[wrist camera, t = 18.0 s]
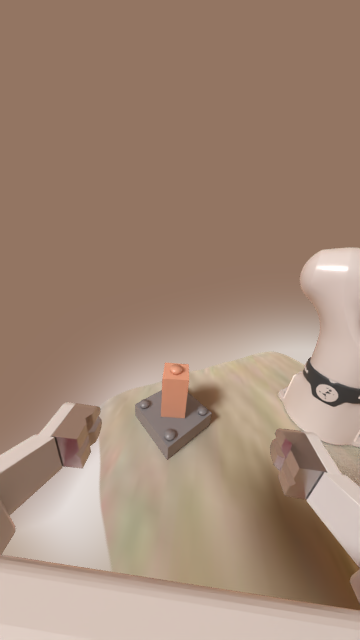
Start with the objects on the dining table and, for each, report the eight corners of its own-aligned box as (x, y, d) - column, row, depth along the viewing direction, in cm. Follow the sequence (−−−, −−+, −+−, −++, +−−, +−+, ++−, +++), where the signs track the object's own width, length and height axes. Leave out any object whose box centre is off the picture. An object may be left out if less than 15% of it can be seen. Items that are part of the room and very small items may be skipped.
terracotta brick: (163, 398, 44) (165, 359, 40) (184, 399, 44) (188, 361, 40) (160, 416, 39) (162, 375, 35) (184, 418, 40) (189, 377, 35)
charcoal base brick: (175, 393, 51) (176, 379, 49) (209, 426, 43) (212, 410, 41) (135, 417, 44) (135, 401, 42) (167, 461, 35) (168, 444, 33)
